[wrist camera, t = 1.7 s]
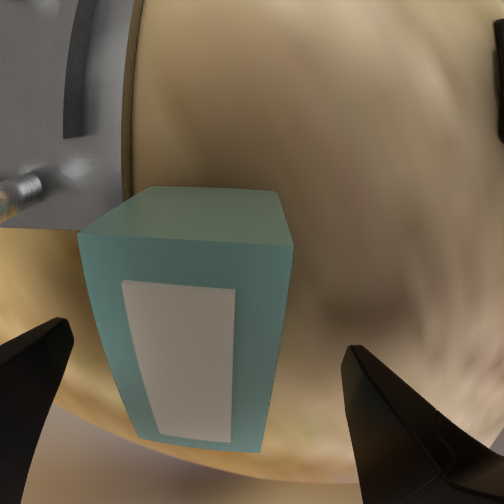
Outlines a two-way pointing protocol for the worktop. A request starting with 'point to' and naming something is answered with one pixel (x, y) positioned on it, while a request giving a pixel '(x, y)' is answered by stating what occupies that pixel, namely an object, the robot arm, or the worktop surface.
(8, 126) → the metal plate device
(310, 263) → the worktop surface
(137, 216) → the block
